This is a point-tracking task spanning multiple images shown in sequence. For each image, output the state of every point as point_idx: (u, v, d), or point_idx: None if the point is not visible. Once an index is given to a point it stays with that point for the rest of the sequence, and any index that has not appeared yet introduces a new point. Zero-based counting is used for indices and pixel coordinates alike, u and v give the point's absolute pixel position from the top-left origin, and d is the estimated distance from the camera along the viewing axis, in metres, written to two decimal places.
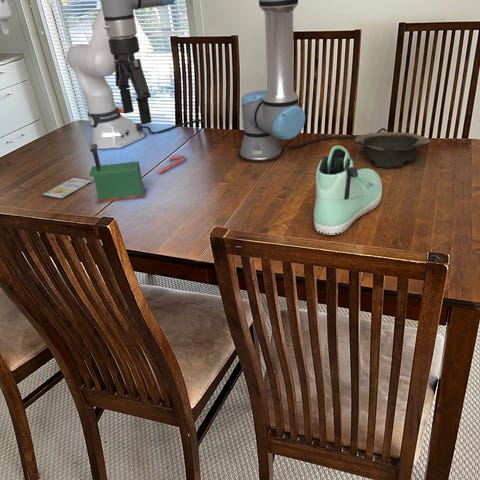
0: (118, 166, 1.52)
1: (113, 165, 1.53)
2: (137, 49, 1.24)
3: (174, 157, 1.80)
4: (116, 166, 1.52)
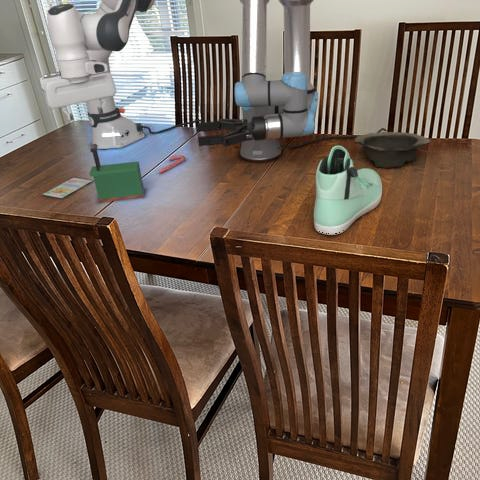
0: (118, 166, 1.52)
1: (113, 165, 1.53)
2: None
3: (174, 157, 1.80)
4: (116, 166, 1.52)
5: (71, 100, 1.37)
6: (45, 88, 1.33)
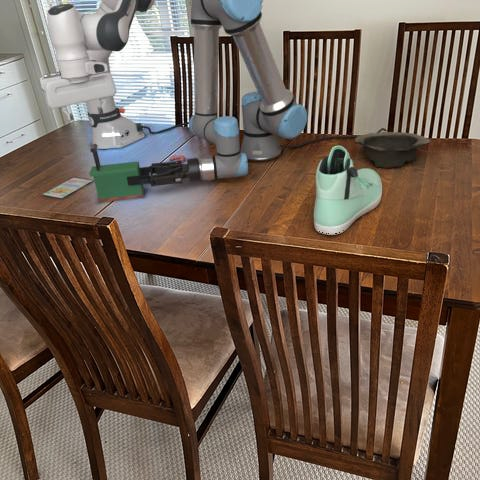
0: (118, 166, 1.52)
1: (113, 165, 1.53)
2: None
3: (174, 157, 1.80)
4: (116, 166, 1.52)
5: (71, 100, 1.37)
6: (45, 88, 1.33)
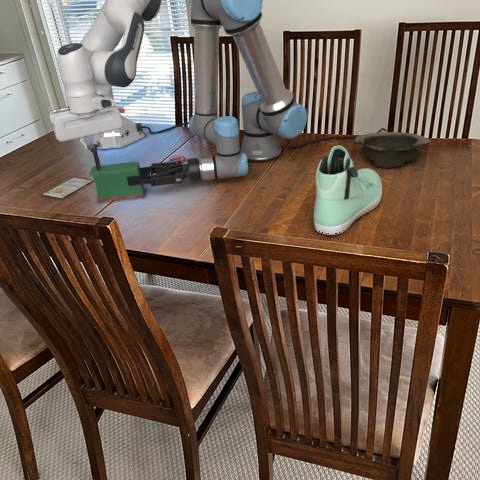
0: (118, 166, 1.52)
1: (113, 165, 1.53)
2: None
3: (174, 157, 1.80)
4: (116, 166, 1.52)
5: (79, 133, 1.42)
6: (54, 122, 1.38)
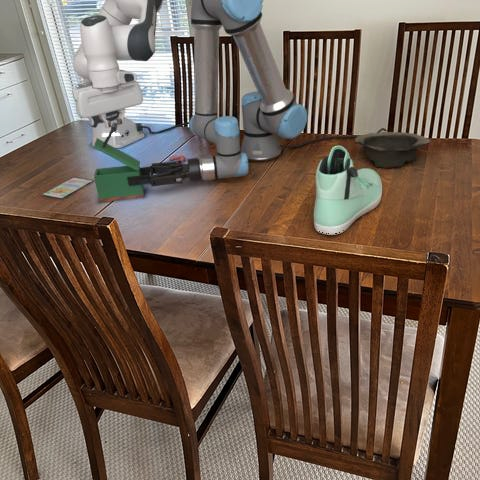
0: (121, 155, 1.50)
1: (117, 150, 1.51)
2: None
3: (174, 157, 1.80)
4: (120, 154, 1.50)
5: (102, 109, 1.39)
6: (78, 98, 1.34)
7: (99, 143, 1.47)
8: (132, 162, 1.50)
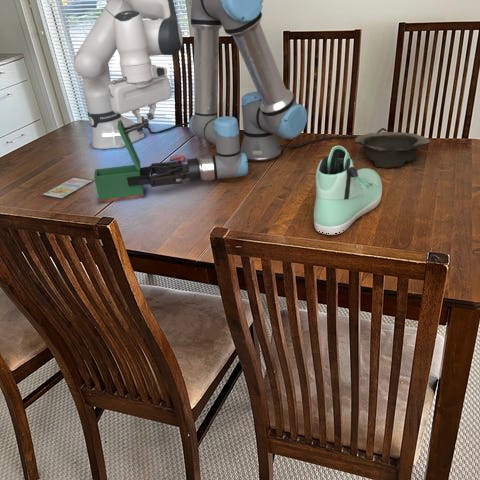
0: (132, 148, 1.49)
1: (130, 141, 1.49)
2: None
3: (174, 157, 1.80)
4: (131, 147, 1.48)
5: (136, 105, 1.39)
6: (115, 94, 1.33)
7: (122, 126, 1.44)
8: (137, 160, 1.50)
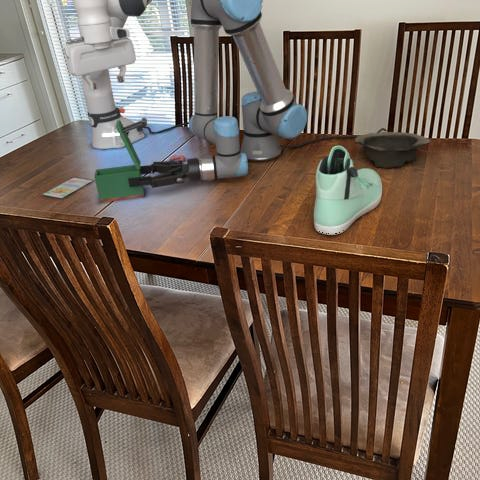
0: (131, 147, 1.49)
1: (129, 141, 1.50)
2: None
3: (174, 157, 1.80)
4: (131, 146, 1.49)
5: (95, 67, 1.33)
6: (70, 54, 1.28)
7: (121, 126, 1.45)
8: (137, 159, 1.50)
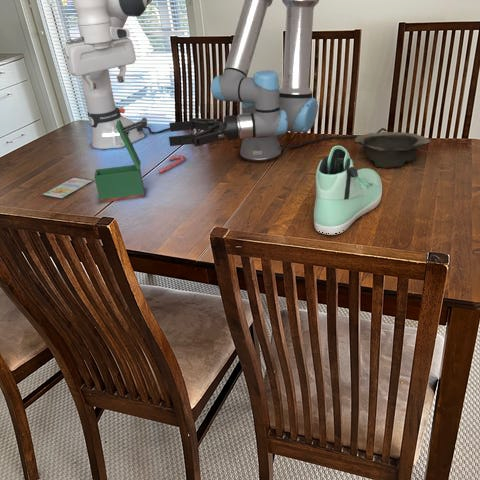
0: (131, 147, 1.49)
1: (130, 141, 1.50)
2: None
3: (174, 157, 1.80)
4: (131, 146, 1.49)
5: (95, 67, 1.33)
6: (70, 54, 1.28)
7: (121, 126, 1.45)
8: (137, 159, 1.50)
